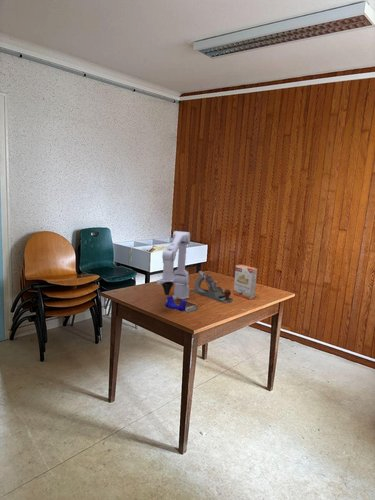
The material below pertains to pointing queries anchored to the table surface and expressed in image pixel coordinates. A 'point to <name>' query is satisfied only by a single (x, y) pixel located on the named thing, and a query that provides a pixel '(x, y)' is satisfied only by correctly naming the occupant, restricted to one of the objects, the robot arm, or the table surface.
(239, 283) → the cracker box
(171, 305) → the cable clip
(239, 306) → the table surface
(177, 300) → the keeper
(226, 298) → the hand plane
